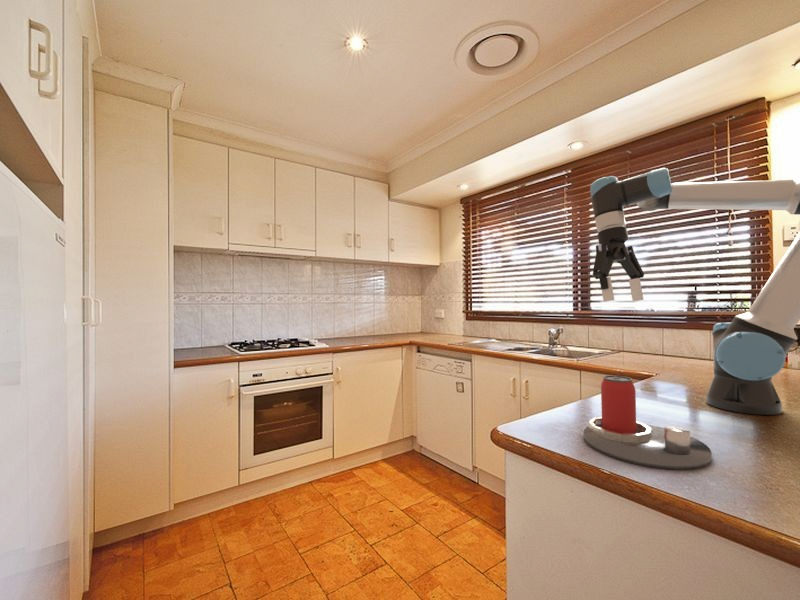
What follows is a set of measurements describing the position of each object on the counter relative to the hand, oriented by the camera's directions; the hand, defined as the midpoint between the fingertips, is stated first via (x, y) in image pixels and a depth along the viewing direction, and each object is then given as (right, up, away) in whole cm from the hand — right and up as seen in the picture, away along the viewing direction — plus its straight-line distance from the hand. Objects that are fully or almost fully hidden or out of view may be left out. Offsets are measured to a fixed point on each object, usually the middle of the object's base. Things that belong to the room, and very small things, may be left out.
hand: (624, 300), depth 104 cm
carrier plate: (-13, -30, -28) cm, 43 cm away
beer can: (-15, -29, -23) cm, 40 cm away
